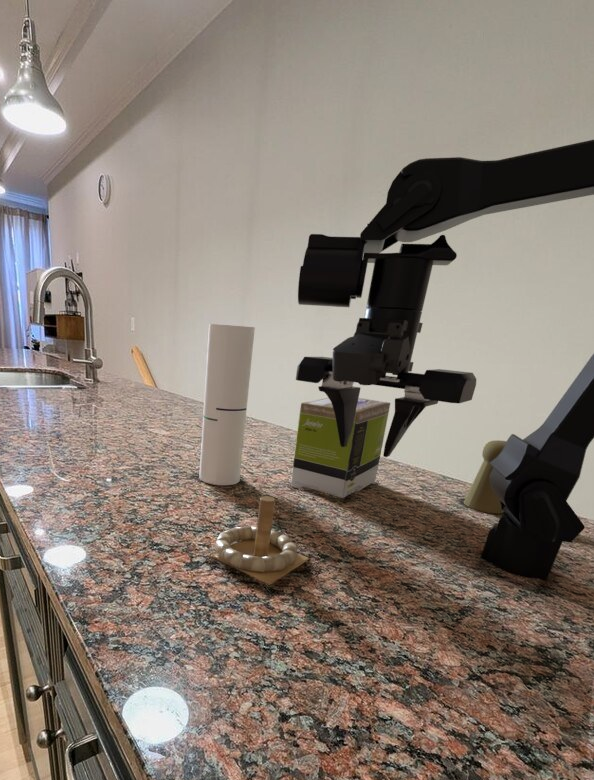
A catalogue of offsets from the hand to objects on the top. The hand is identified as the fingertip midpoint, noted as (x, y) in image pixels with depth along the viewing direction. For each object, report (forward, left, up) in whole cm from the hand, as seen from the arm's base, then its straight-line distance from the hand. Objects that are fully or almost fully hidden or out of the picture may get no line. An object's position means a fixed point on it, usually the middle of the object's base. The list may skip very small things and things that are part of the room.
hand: (364, 451), depth 54 cm
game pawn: (-10, -31, -12) cm, 35 cm away
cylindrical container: (+27, -6, -12) cm, 30 cm away
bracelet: (+5, +14, -10) cm, 18 cm away
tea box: (+12, -20, -12) cm, 26 cm away
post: (+4, +14, -12) cm, 19 cm away
